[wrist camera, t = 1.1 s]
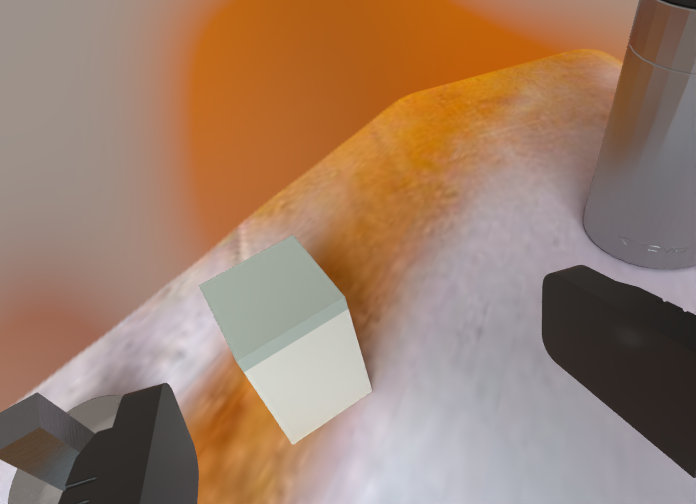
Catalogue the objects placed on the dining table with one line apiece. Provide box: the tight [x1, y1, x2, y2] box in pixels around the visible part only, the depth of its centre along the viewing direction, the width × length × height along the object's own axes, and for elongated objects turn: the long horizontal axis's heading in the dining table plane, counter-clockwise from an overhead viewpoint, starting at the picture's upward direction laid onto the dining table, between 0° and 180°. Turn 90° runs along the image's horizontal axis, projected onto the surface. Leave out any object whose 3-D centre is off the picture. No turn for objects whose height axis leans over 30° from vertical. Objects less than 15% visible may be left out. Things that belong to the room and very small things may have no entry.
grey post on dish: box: [0, 392, 123, 504], centre depth 26 cm, size 9×9×8 cm
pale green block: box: [199, 235, 372, 445], centre depth 27 cm, size 6×6×10 cm
